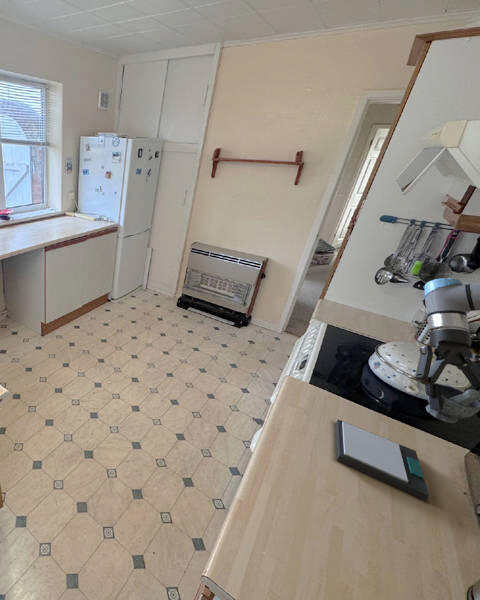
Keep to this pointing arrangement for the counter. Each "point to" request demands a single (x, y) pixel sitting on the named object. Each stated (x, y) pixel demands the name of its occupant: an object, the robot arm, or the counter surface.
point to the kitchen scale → (380, 459)
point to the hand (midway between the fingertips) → (460, 413)
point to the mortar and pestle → (456, 404)
